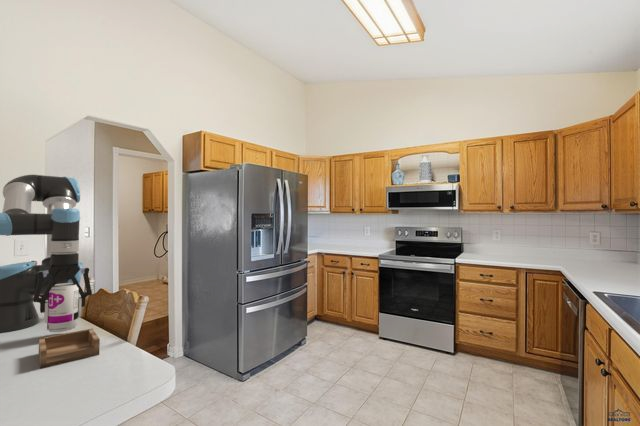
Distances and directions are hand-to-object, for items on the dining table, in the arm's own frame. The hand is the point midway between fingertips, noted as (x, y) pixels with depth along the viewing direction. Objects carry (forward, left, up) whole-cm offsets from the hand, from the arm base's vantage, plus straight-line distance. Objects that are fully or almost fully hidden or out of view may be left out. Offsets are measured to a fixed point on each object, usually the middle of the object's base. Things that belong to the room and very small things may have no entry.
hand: (63, 318), depth 108 cm
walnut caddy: (+20, 0, -6) cm, 21 cm away
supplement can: (0, 0, -4) cm, 4 cm away
